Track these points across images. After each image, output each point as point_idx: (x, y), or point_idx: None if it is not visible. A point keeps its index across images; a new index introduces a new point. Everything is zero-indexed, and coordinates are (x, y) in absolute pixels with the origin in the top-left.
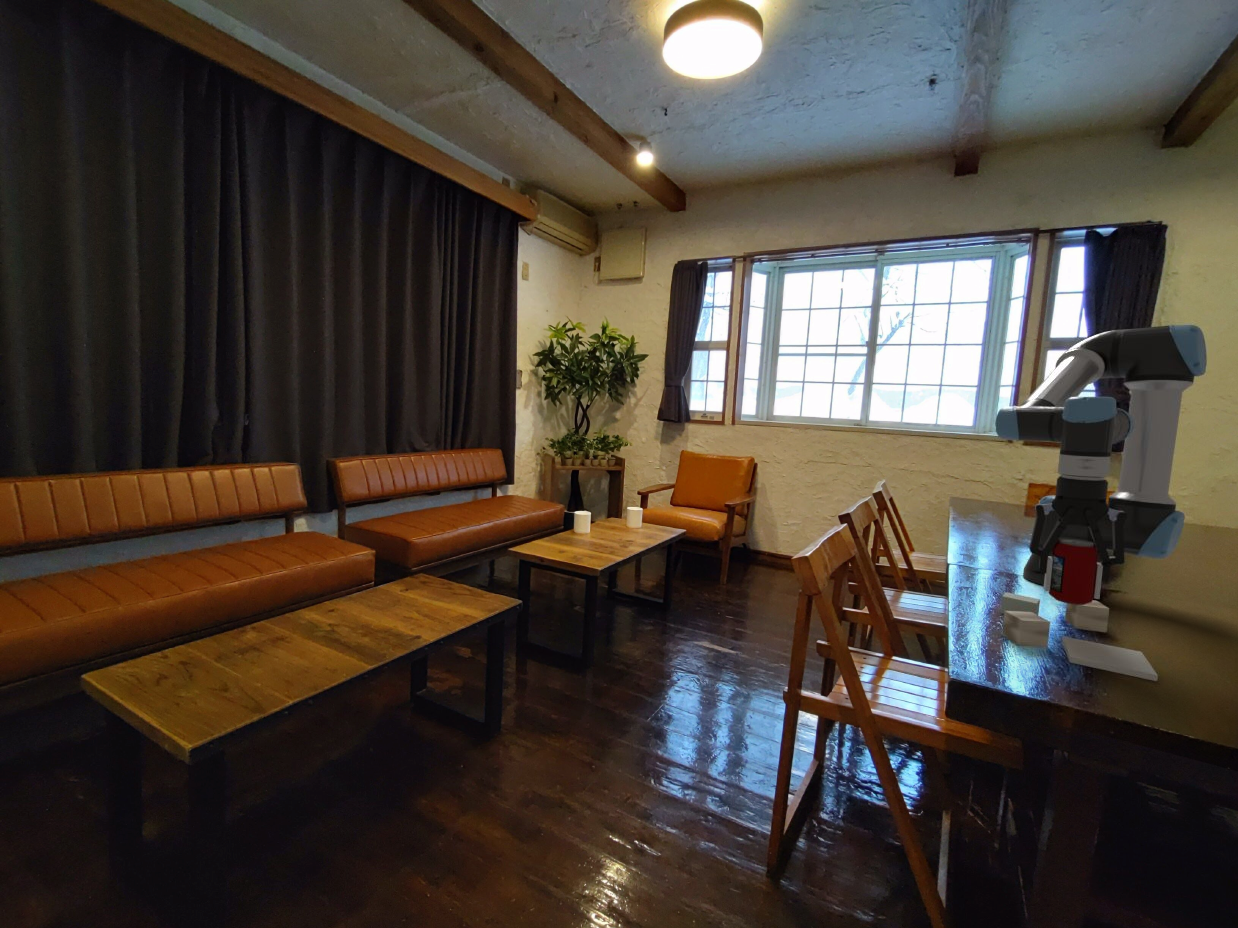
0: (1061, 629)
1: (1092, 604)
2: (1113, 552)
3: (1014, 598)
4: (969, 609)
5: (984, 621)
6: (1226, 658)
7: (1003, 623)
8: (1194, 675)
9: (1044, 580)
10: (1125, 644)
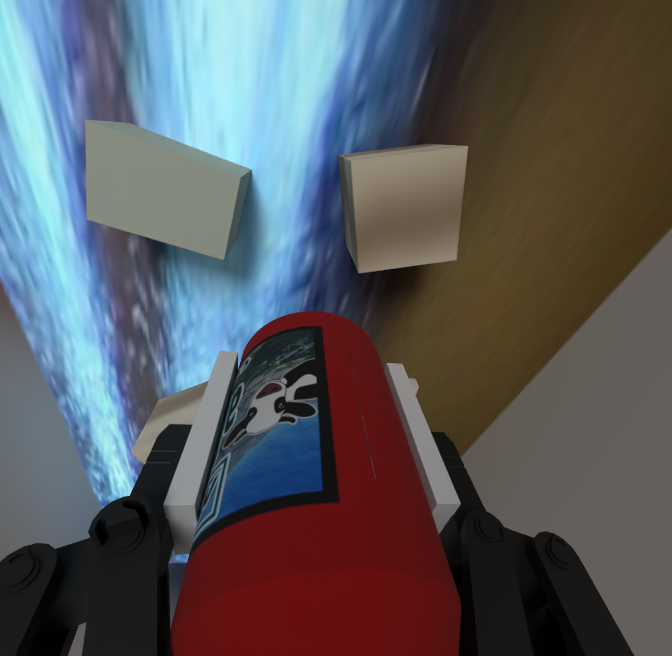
0: (301, 279)
1: (417, 233)
2: (555, 611)
3: (139, 233)
4: (19, 219)
5: (100, 326)
6: (609, 292)
7: (147, 423)
8: (461, 414)
9: (212, 376)
10: (424, 315)
